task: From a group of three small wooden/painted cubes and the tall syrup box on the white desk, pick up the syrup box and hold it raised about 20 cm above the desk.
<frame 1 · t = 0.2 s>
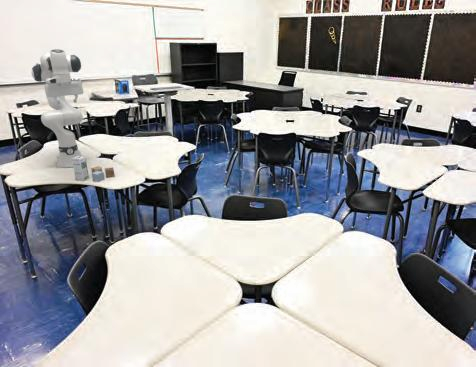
hand: (67, 103, 210), 47 cm above the table, fingers open, 8 cm apart
maple cube: (97, 174, 230), on the table
walnut cube: (110, 176, 227), on the table
slate blue cube: (98, 180, 221), on the table
syrup box: (82, 179, 223), on the table
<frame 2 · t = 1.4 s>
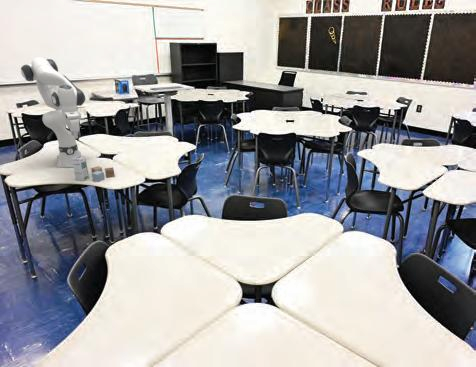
hand: (74, 136, 213), 27 cm above the table, fingers open, 8 cm apart
nothing on the table moved.
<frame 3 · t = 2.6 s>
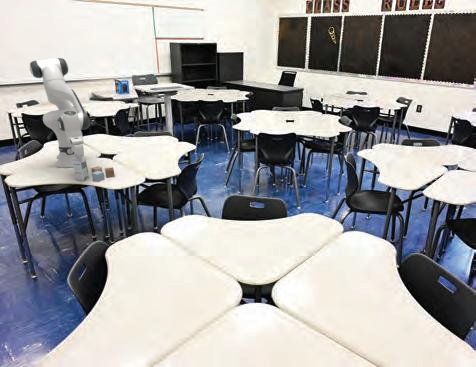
hand: (79, 160, 218), 13 cm above the table, fingers open, 8 cm apart
syrup box: (82, 179, 223), on the table, touching gripper
everything else where it was.
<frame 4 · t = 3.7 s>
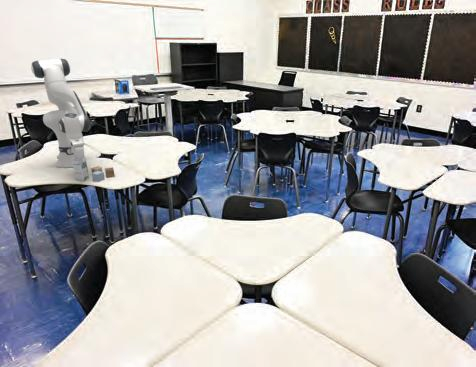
hand: (79, 162, 219), 11 cm above the table, fingers closed on syrup box, 8 cm apart
syrup box: (82, 179, 223), on the table, touching gripper
everything else where it was.
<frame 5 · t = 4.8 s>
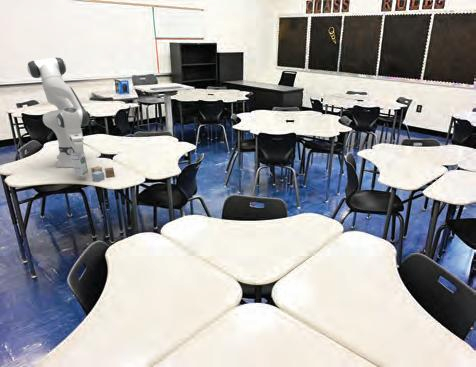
hand: (78, 157, 218), 14 cm above the table, fingers closed on syrup box, 8 cm apart
syrup box: (81, 174, 222), point 3 cm above the table, touching gripper
everything else where it was.
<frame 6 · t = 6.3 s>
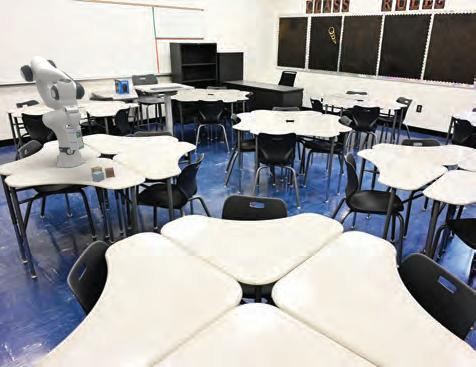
hand: (74, 130, 212), 31 cm above the table, fingers closed on syrup box, 8 cm apart
syrup box: (77, 149, 216), point 19 cm above the table, touching gripper
everything else where it was.
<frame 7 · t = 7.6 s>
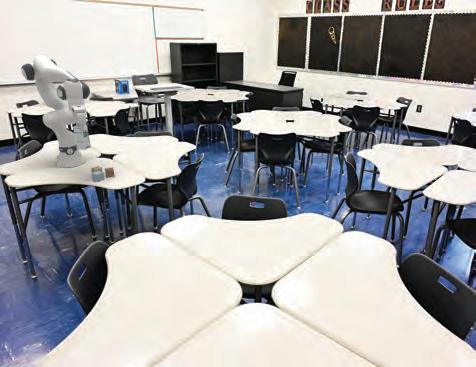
hand: (80, 130, 213), 31 cm above the table, fingers closed on syrup box, 8 cm apart
syrup box: (84, 148, 217), point 19 cm above the table, touching gripper
everything else where it was.
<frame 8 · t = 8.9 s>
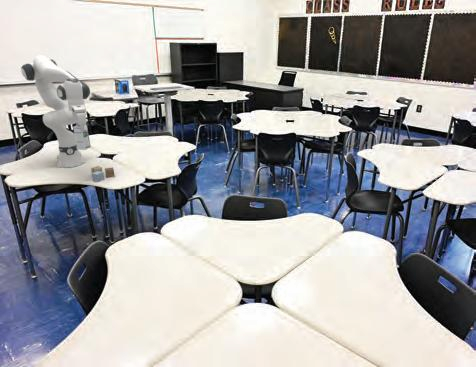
hand: (80, 130, 213), 31 cm above the table, fingers closed on syrup box, 8 cm apart
syrup box: (84, 148, 217), point 19 cm above the table, touching gripper
everything else where it was.
at the end: the gripper is holding syrup box; syrup box point 19.3 cm above the table; maple cube moved 0.1 cm from its start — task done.
